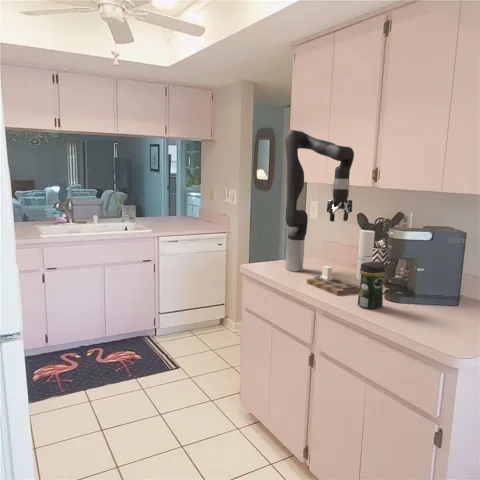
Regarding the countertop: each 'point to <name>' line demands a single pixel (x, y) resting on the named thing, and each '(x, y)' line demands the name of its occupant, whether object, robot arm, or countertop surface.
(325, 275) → the fader
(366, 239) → the cylindrical container
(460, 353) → the countertop surface
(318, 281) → the wooden board
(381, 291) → the coffee jar
